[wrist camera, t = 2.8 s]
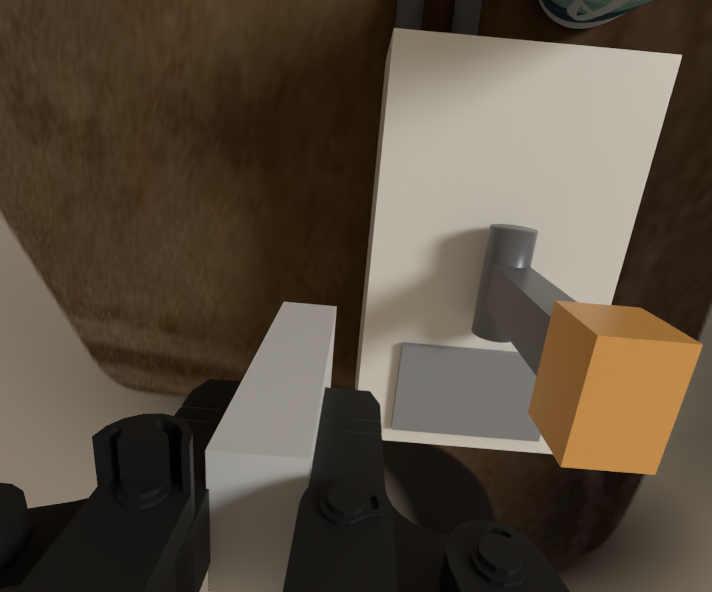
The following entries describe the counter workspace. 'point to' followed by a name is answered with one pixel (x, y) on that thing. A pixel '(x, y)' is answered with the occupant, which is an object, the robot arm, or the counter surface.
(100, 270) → the counter surface
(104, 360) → the counter surface
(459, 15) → the parallel rod pair
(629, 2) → the lotion bottle
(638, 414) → the lever
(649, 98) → the block
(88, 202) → the counter surface
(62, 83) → the counter surface
